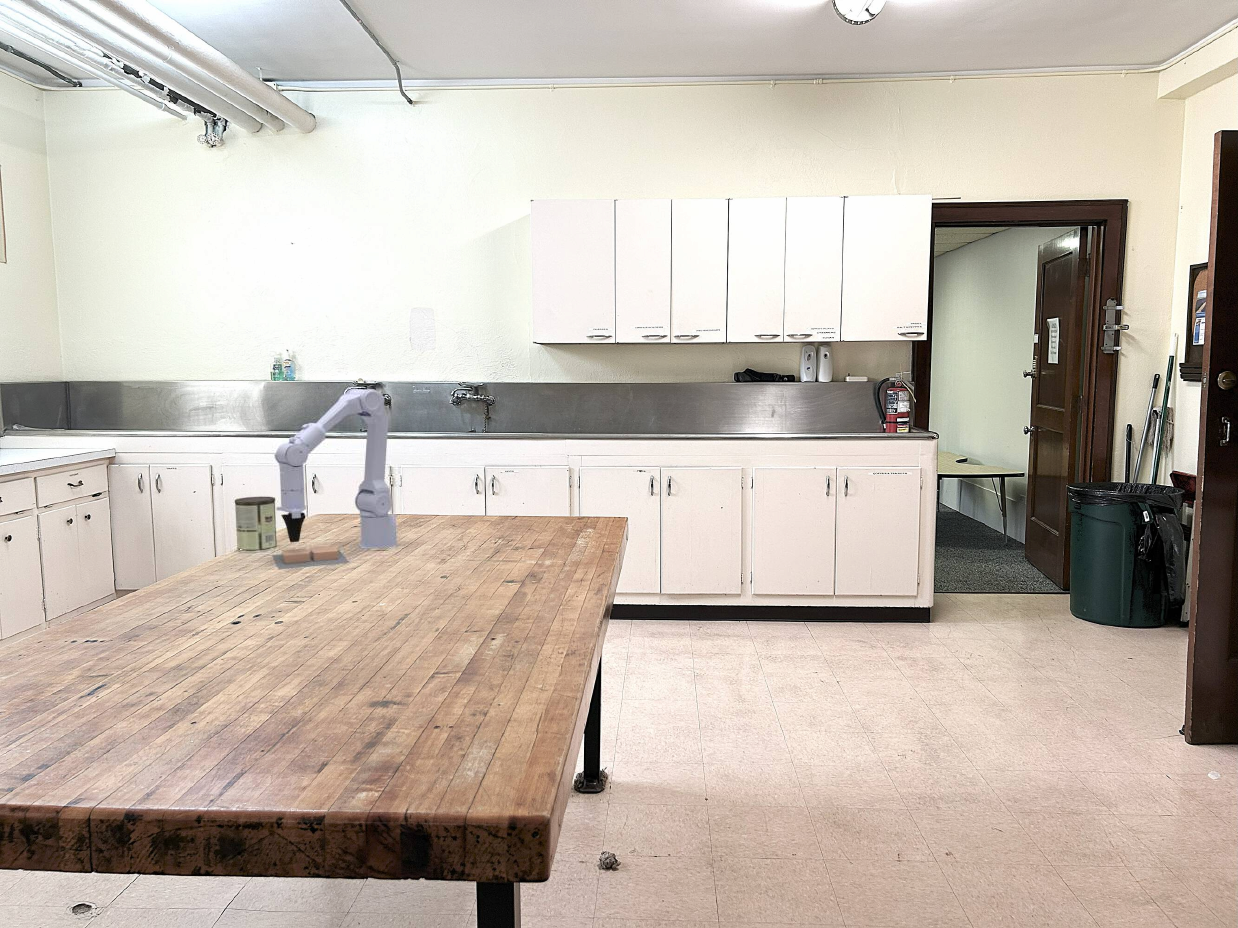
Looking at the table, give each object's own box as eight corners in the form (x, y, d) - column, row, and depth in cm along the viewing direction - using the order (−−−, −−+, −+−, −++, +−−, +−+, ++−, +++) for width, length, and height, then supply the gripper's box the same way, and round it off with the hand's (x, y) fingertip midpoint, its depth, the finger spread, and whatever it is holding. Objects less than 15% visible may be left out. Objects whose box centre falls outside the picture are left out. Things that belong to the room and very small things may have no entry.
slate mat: (338, 550, 241) (338, 549, 241) (349, 564, 225) (349, 562, 225) (272, 556, 234) (272, 555, 234) (278, 570, 218) (278, 569, 218)
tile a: (310, 547, 232) (313, 552, 226) (333, 545, 235) (338, 550, 229) (310, 556, 233) (314, 561, 226) (334, 554, 235) (338, 559, 229)
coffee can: (245, 546, 247) (243, 496, 246) (282, 546, 247) (281, 496, 246) (230, 553, 237) (227, 501, 236) (268, 553, 237) (266, 501, 236)
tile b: (281, 550, 229) (284, 555, 223) (306, 548, 232) (309, 553, 226) (282, 558, 230) (285, 563, 223) (306, 556, 232) (309, 561, 226)
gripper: (273, 487, 232) (275, 537, 234) (278, 494, 219) (280, 547, 221) (301, 485, 235) (303, 535, 237) (308, 492, 222) (310, 545, 224)
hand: (294, 541), depth 229 cm, fingers closed
